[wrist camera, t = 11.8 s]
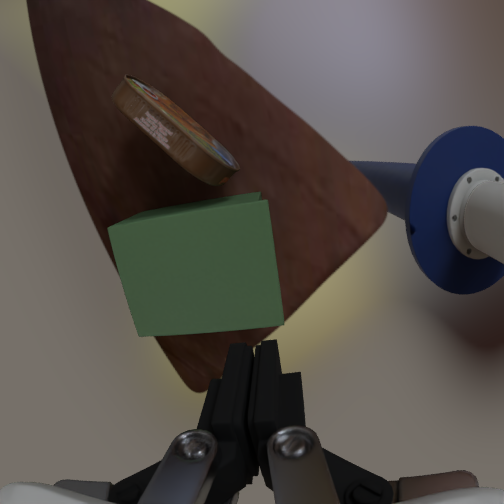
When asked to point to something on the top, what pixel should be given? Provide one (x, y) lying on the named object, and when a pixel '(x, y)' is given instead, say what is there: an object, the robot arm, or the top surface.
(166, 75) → the top surface
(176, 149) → the tin
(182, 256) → the lid
